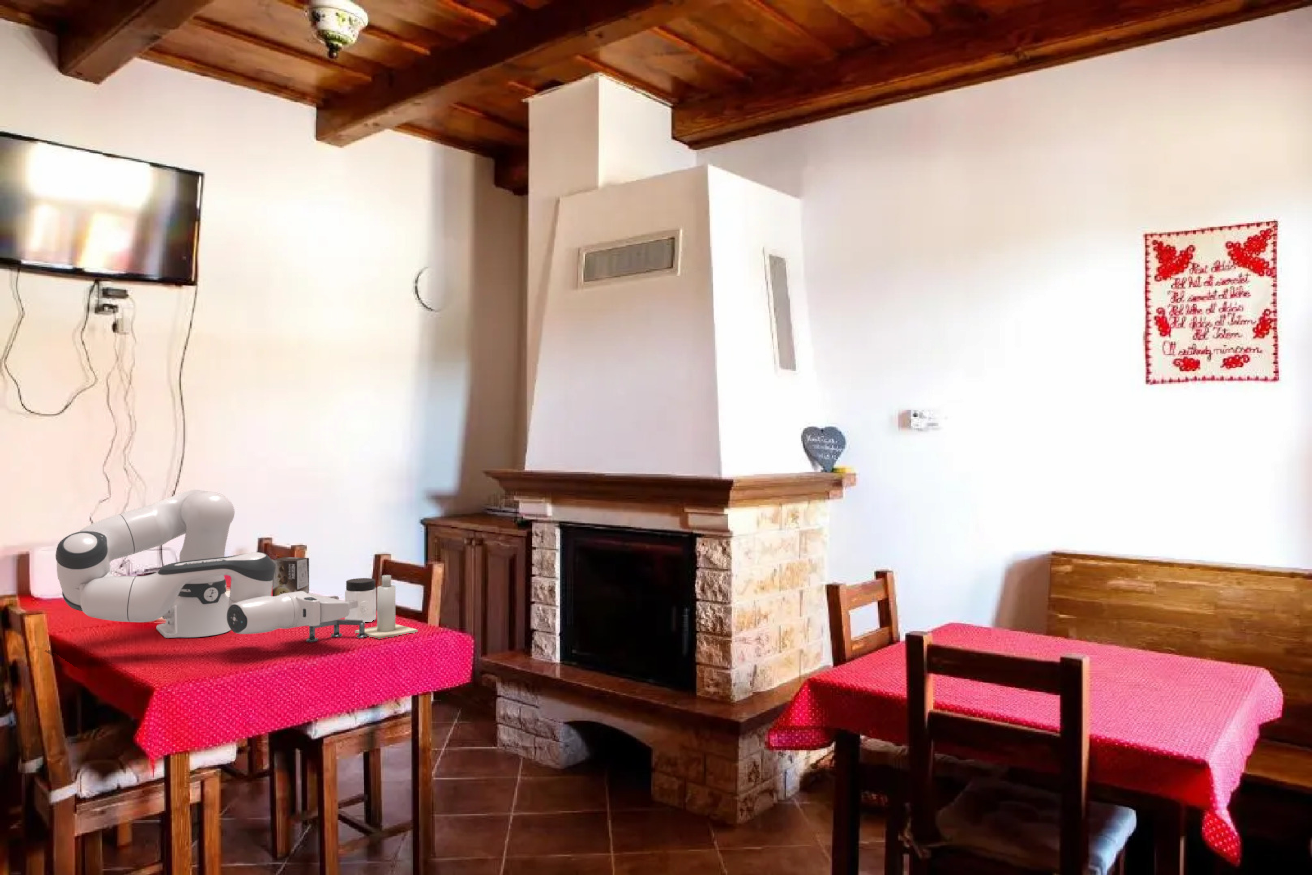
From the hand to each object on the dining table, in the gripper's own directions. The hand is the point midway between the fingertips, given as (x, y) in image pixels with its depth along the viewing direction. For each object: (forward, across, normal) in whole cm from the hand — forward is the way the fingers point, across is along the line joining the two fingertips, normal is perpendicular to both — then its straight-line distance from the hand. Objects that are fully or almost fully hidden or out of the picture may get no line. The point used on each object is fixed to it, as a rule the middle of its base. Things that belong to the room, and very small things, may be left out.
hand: (346, 601), depth 236 cm
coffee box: (+10, -49, -11) cm, 51 cm away
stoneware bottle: (+12, 0, -10) cm, 15 cm away
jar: (+15, -19, -11) cm, 27 cm away
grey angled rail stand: (-1, -3, -10) cm, 11 cm away
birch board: (+12, 0, -10) cm, 16 cm away
